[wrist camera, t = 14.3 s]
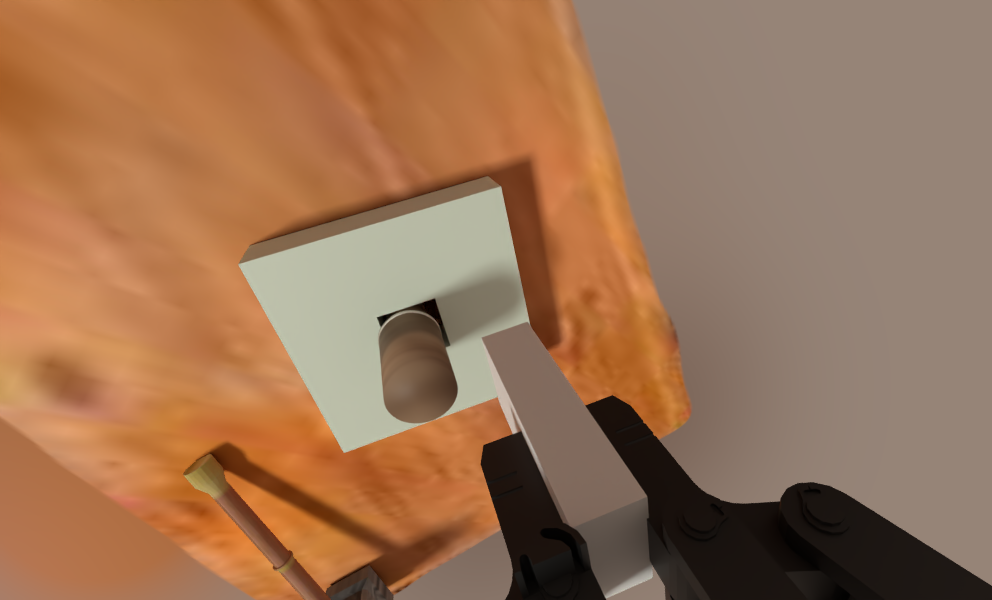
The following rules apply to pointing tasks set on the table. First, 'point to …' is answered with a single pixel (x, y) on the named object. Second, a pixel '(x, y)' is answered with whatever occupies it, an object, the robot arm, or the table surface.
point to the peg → (415, 366)
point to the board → (390, 297)
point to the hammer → (354, 596)
